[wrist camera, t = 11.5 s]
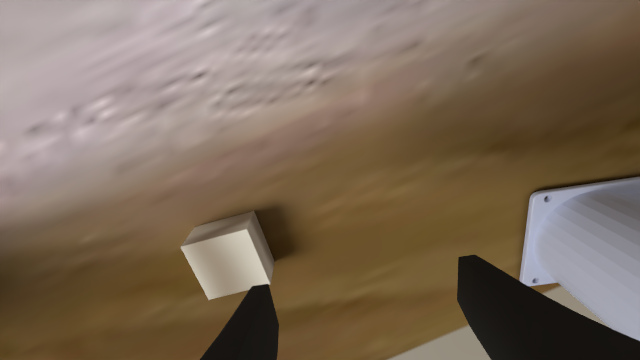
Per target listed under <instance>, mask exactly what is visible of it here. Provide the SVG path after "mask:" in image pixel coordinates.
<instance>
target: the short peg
mask: <svg viewBox="0 0 640 360" xmlns="http://www.w3.org/2000/svg"><path fill="white" fill-rule="evenodd" d="M181 249H182V251H183V253H184V254H185V256H186V258H187V260H188V262H189V264H190V266H191V268H192V269H193V271H194V273H195V275H196V277H197V279H198V281H199V282H200V284H201V286H202V288H203V290H204V292H205V294H206V296H207V297H208V299H209V300H210V299H214V298H218V297H222V296H226V295H230V294H234V293H238V292H242V291H246V290H250V288H251V287H252V286H256V285H263V284H268V285H269V284H271V278H272V273H273V267H274V262H275V261H274V259H273V256H272V254H271V251H270V249H269V246H268V244H267V242H266V239H265V237H264V234H263V232H262V229H261V227H260V224H259V222H258V219H257V217H256V214H255V212H254V211H252V212H248V213H244V214H240V215H237V216H233V217H229V218H226V219H222V220H218V221H215V222H211V223H207V224H204V225H200V226H196V227H194V229H193V230H192V232H191V233H190V234H189V236H188V237H187V238H186V240H185V241H184V243H183V244H182V245H181Z"/></svg>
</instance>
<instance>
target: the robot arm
mask: <svg viewBox="0 0 640 360" xmlns="http://www.w3.org/2000/svg"><path fill="white" fill-rule="evenodd" d="M546 196H547V198H546V199H544V198H545V197H546ZM556 282H558V283H559V284H560V285H561V286H562V287H564V288H565V289H566V290H567V291H568V292H569V293H571V294H572V295H573V296H574V297H575V298H576V299H578V300H579V301H580V302H581V303H582V304H583V305H585V306H586V307H587V308H588V309H589V310H590V311H591V312H593V313H594V314H595V315H596V316H597V317H598V318H600V319H601V320H602V321H603V322H604V323H605V324H607V325H608V326H609V327H610V328H609V327H606V326H604V325H602V324H600V323H598V322H596V321H594V320H591V319H589V318H587V317H585V316H583V315H581V314H579V313H577V312H575V311H573V310H571V309H569V308H567V307H565V306H563V305H561V304H559V303H558V302H556V301H553V300H552V299H550V298H548V297H546V296H544V295H543V294H541V293H539V292H537V291H536V290H534V289H532V288H530V287H529V286H534V285H542V284H549V283H556ZM457 300H458V303H459V305H460V307H461V309H462V311H463V313H464V315H465V317H466V319H467V321H468V323H469V325H470V327H471V329H472V330H473V332H474V333H475V335H476V336H477V338H478V340H479V341H480V343H481V344H482V346H483V348H484V349H485V351H486V352H487V354H488V355H489V357H490V358H491V360H640V177H634V178H627V179H620V180H613V181H606V182H599V183H592V184H585V185H578V186H571V187H564V188H557V189H550V190H543V191H537V192H535V193H533V194H532V195H531V197H530V201H529V209H528V217H527V225H526V233H525V241H524V249H523V257H522V265H521V273H520V281H518V280H517V279H515V278H513V277H512V276H510V275H508V274H507V273H505V272H503V271H502V270H500V269H498V268H497V267H495V266H493V265H492V264H490V263H488V262H487V261H485V260H483V259H482V258H480V257H478V256H476V255H470V256H463V257H459V261H458V292H457ZM278 331H279V324H278V320H277V316H276V312H275V308H274V304H273V300H272V296H271V292H270V289H269V285H268V284H263V285H256V286H252V287H251V288H250V290H249V291H248V293H247V294H246V296H245V297H244V299H243V300H242V302H241V303H240V305H239V307H238V308H237V310H236V311H235V312H234V314H233V315H232V317H231V318H230V320H229V321H228V323H227V324H226V325H225V327H224V328H223V330H222V331H221V333H220V334H219V335H218V337H217V338H216V339H215V341H214V342H213V343H212V344H211V346H210V347H209V348H208V350H207V351H206V352H205V353H204V355H203V356H202V357H201V359H200V360H276V359H277V352H278Z"/></svg>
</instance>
